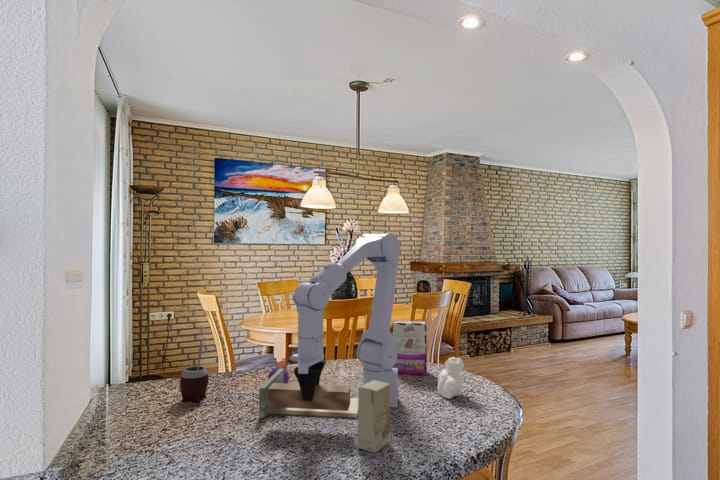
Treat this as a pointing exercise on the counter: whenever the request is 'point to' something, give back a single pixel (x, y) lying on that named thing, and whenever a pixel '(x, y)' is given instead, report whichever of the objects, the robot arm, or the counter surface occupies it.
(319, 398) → the rail
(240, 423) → the counter surface
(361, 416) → the skincare box
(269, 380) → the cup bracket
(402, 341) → the candy bar box
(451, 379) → the bust
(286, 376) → the kendama
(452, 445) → the counter surface
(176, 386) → the counter surface
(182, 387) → the mate gourd
